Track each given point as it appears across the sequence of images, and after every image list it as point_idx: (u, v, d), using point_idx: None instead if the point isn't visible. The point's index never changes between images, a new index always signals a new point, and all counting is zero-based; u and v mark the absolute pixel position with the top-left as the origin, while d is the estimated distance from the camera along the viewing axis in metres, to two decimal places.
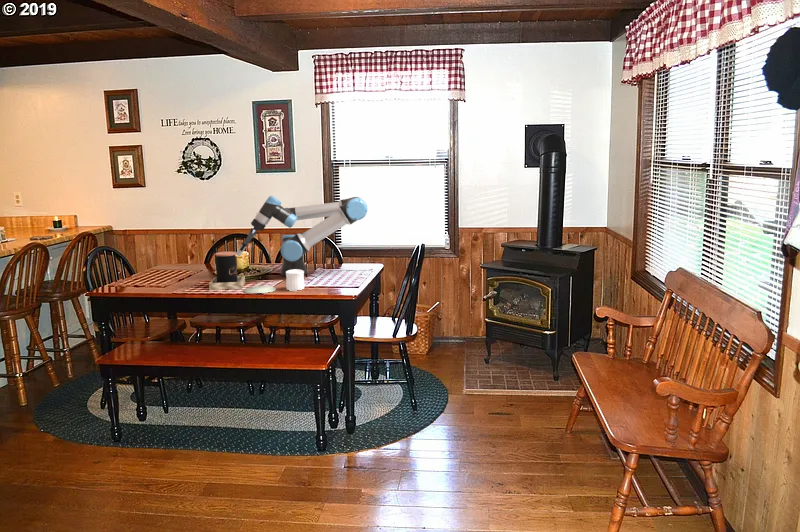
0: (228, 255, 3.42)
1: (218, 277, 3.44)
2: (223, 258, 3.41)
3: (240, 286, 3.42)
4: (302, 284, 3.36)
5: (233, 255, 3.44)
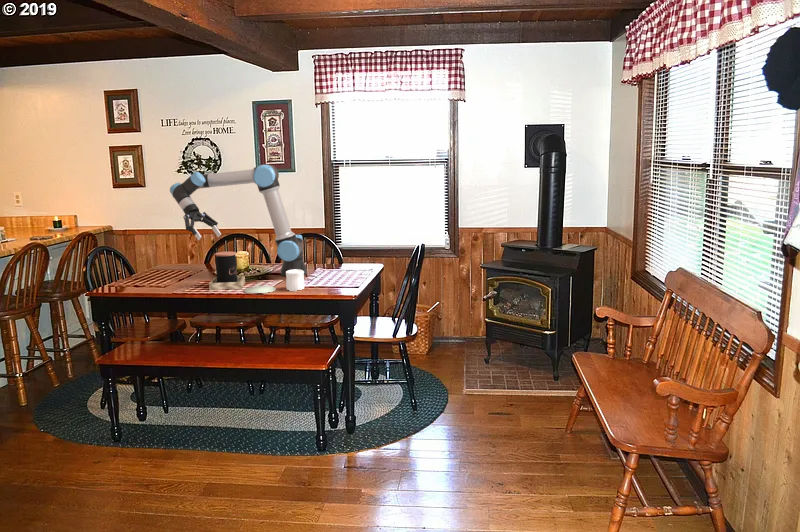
0: (228, 255, 3.42)
1: (218, 277, 3.44)
2: (223, 258, 3.41)
3: (240, 286, 3.42)
4: (302, 284, 3.36)
5: (233, 255, 3.44)
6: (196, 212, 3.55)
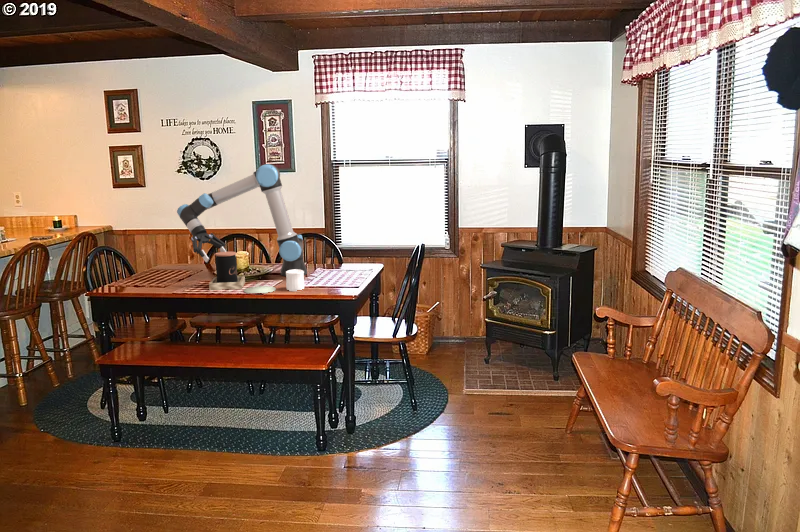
0: (228, 255, 3.42)
1: (218, 277, 3.44)
2: (223, 258, 3.41)
3: (240, 286, 3.42)
4: (302, 284, 3.36)
5: (233, 255, 3.44)
6: (204, 234, 3.53)
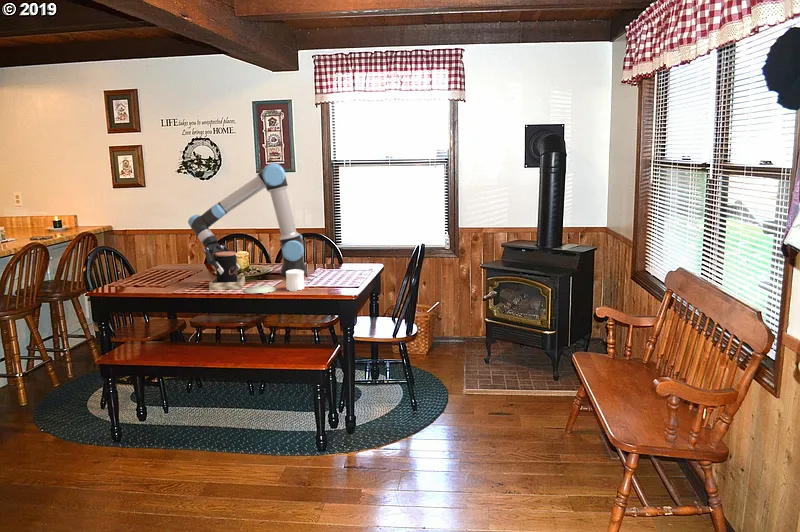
0: (228, 255, 3.42)
1: (218, 277, 3.44)
2: (223, 258, 3.41)
3: (240, 286, 3.42)
4: (302, 284, 3.36)
5: (233, 255, 3.44)
6: (215, 244, 3.51)
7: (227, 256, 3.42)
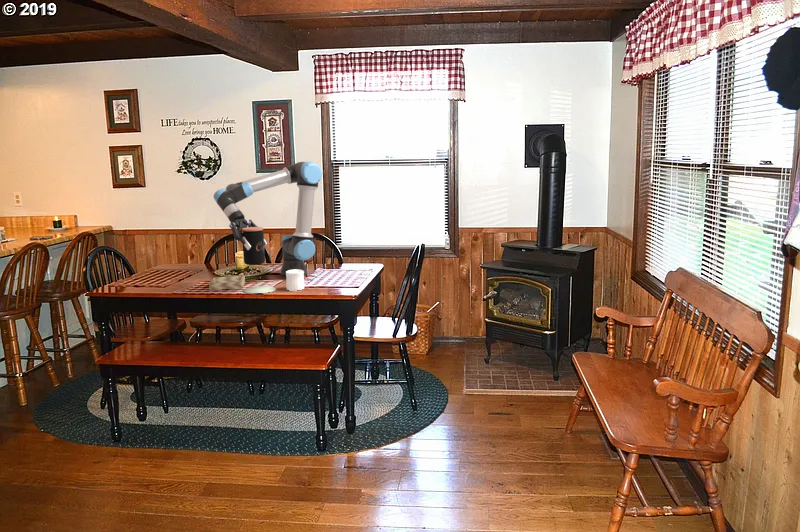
0: (255, 230, 3.28)
1: (245, 253, 3.31)
2: (250, 233, 3.28)
3: (240, 286, 3.42)
4: (302, 284, 3.36)
5: (260, 230, 3.31)
6: (241, 219, 3.37)
7: (254, 231, 3.28)
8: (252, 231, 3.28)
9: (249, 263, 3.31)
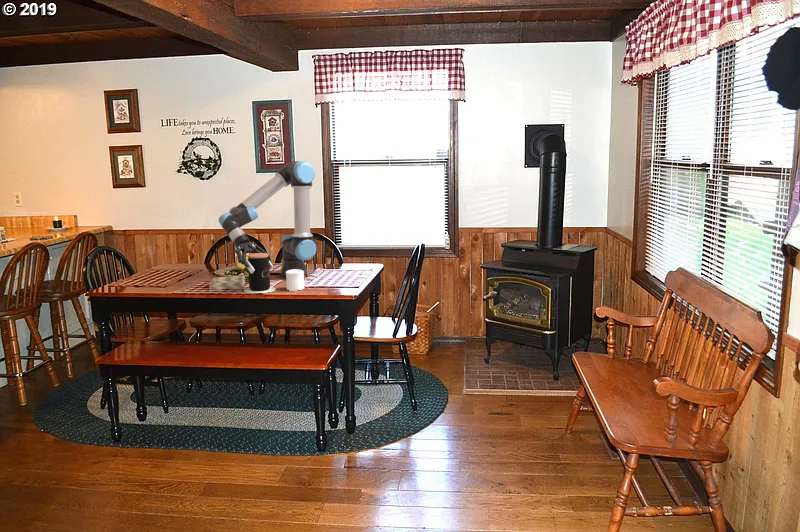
0: (261, 257, 3.30)
1: (250, 280, 3.33)
2: (256, 260, 3.30)
3: (240, 286, 3.42)
4: (302, 284, 3.36)
5: (266, 257, 3.32)
6: (247, 243, 3.39)
7: (260, 258, 3.30)
8: (258, 258, 3.30)
9: (255, 290, 3.33)
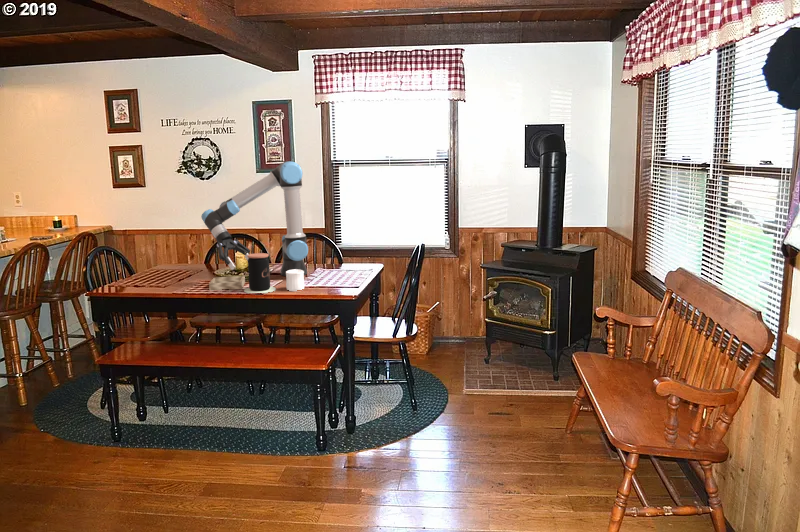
0: (261, 257, 3.30)
1: (250, 280, 3.33)
2: (256, 260, 3.30)
3: (240, 286, 3.42)
4: (302, 284, 3.36)
5: (266, 257, 3.33)
6: (229, 240, 3.46)
7: (260, 258, 3.30)
8: (258, 258, 3.30)
9: (255, 290, 3.33)
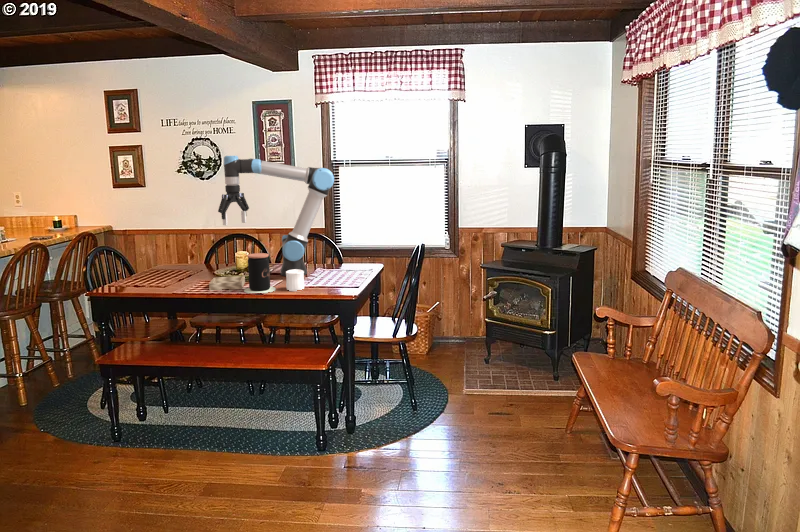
0: (261, 257, 3.30)
1: (250, 280, 3.33)
2: (256, 260, 3.30)
3: (240, 286, 3.42)
4: (302, 284, 3.36)
5: (266, 257, 3.33)
6: (236, 193, 3.54)
7: (260, 258, 3.30)
8: (258, 258, 3.30)
9: (255, 290, 3.33)
